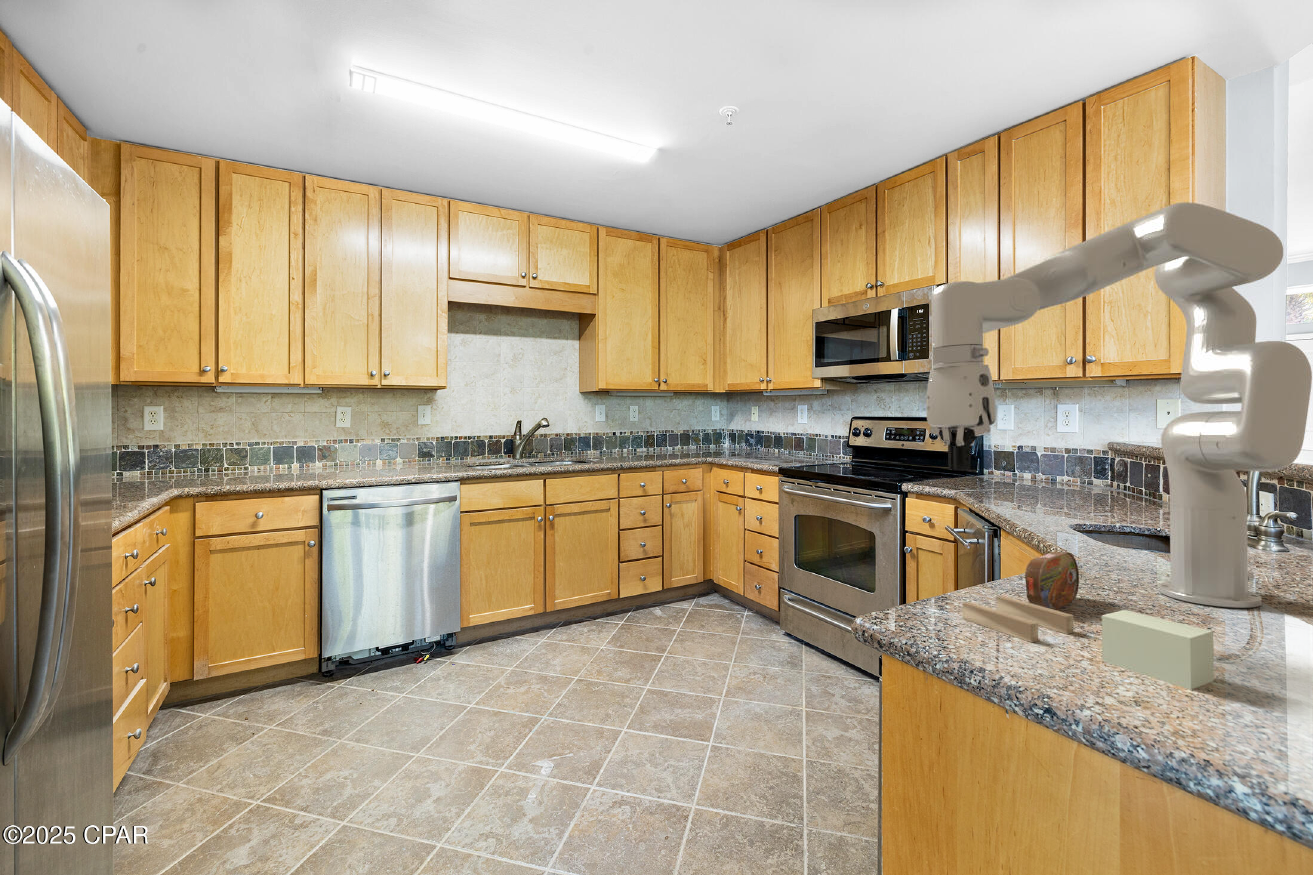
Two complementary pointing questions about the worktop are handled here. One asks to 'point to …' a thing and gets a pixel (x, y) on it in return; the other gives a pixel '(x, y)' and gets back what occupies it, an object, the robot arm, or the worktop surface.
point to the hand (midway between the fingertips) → (959, 469)
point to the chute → (1018, 618)
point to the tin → (1052, 580)
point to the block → (1158, 648)
